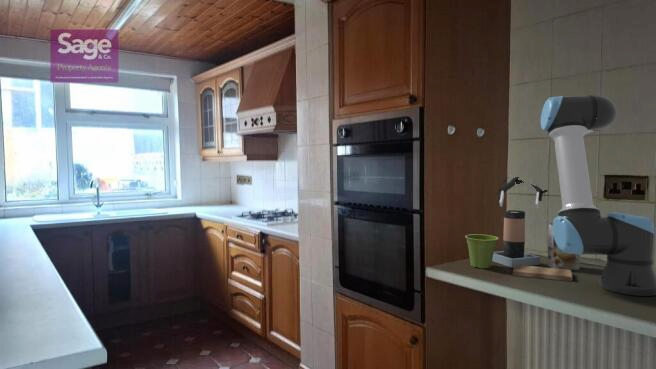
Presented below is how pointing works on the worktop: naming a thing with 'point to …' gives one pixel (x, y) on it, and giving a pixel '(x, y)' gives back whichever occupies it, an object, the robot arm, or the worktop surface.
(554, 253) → the coffee box
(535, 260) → the holder frame
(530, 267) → the walnut board
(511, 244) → the travel mug
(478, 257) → the plant pot
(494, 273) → the worktop surface
